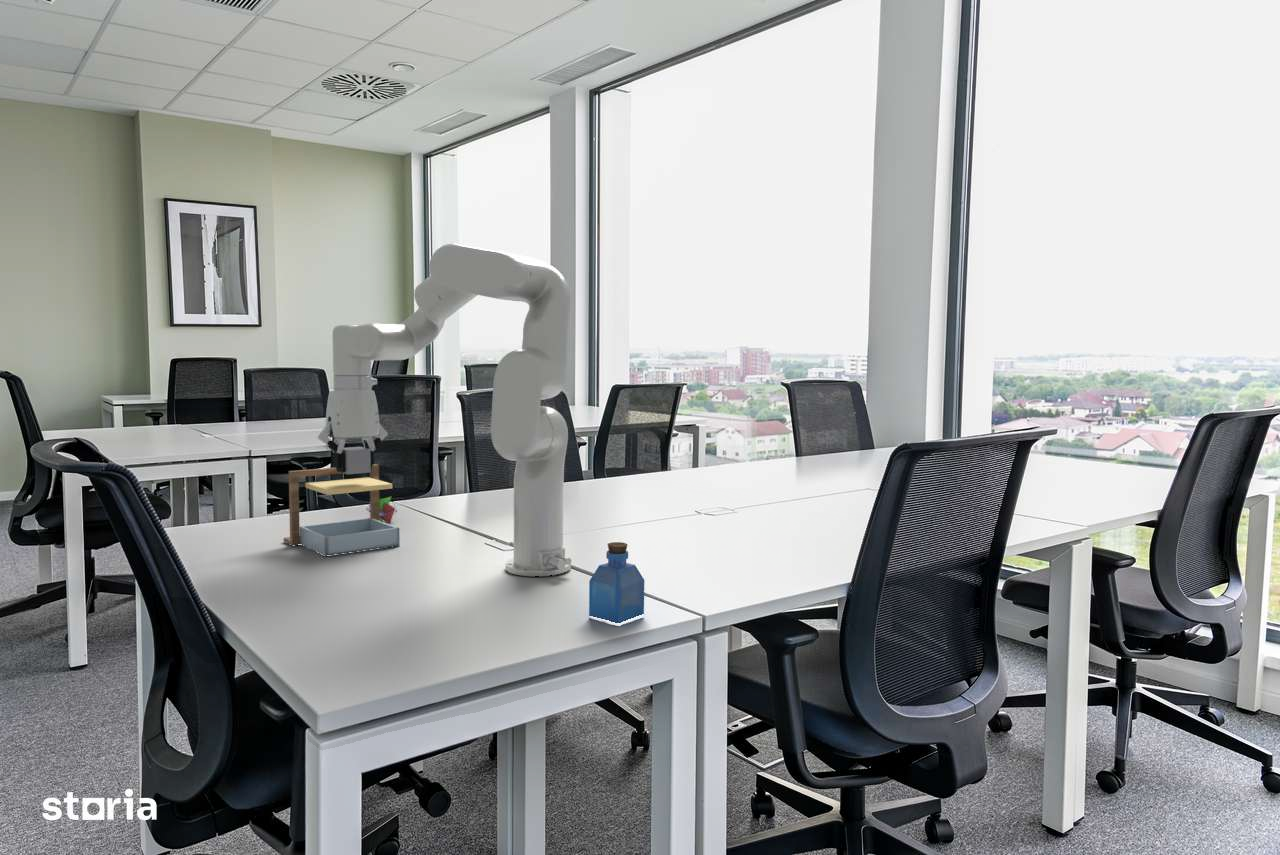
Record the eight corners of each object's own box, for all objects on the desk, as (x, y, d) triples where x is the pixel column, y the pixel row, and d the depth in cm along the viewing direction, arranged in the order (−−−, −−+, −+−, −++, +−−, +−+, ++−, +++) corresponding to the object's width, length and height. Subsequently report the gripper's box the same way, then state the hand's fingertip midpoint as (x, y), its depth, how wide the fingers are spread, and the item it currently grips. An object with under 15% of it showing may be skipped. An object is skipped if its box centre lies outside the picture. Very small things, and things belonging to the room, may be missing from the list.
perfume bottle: (614, 610, 141) (615, 538, 139) (643, 618, 137) (645, 544, 136) (589, 618, 136) (589, 544, 135) (618, 627, 132) (619, 550, 131)
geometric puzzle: (408, 513, 209) (392, 486, 210) (390, 518, 202) (373, 490, 204) (389, 529, 211) (373, 502, 213) (371, 534, 205) (354, 506, 206)
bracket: (380, 534, 194) (379, 465, 193) (293, 546, 182) (291, 472, 180) (369, 530, 199) (368, 462, 197) (283, 542, 186) (282, 469, 184)
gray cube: (370, 472, 180) (370, 448, 180) (347, 474, 177) (347, 450, 176) (360, 469, 184) (360, 446, 183) (337, 471, 180) (337, 448, 180)
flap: (392, 488, 182) (392, 483, 182) (327, 494, 173) (327, 490, 173) (368, 481, 191) (368, 477, 191) (305, 487, 182) (305, 482, 182)
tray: (399, 546, 184) (399, 527, 183) (325, 557, 173) (325, 537, 173) (371, 535, 194) (371, 517, 194) (300, 545, 183) (299, 526, 183)
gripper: (383, 383, 187) (384, 465, 189) (304, 384, 176) (306, 472, 177) (398, 384, 181) (400, 469, 183) (318, 385, 170) (321, 476, 172)
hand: (354, 469), depth 180 cm, fingers closed on gray cube, 5 cm apart
